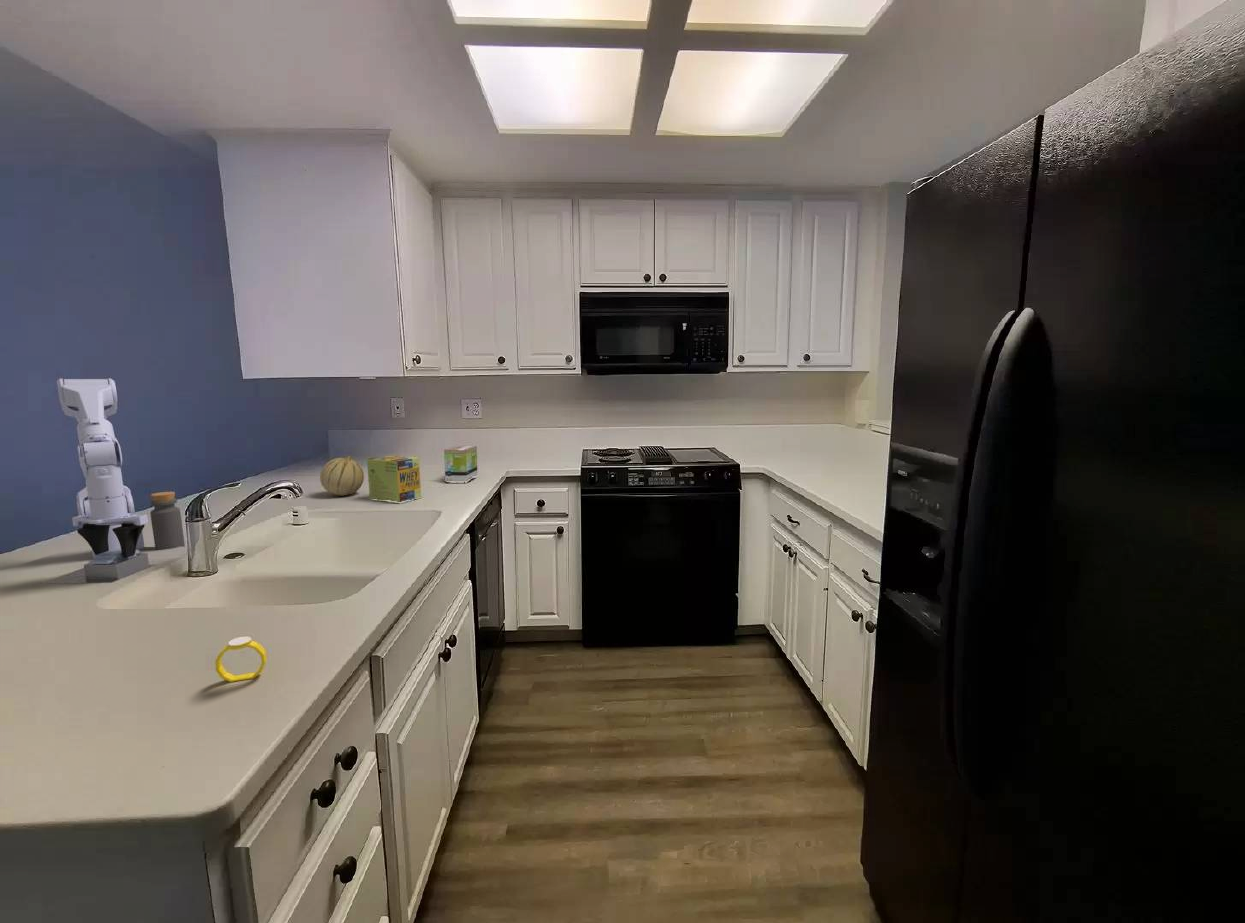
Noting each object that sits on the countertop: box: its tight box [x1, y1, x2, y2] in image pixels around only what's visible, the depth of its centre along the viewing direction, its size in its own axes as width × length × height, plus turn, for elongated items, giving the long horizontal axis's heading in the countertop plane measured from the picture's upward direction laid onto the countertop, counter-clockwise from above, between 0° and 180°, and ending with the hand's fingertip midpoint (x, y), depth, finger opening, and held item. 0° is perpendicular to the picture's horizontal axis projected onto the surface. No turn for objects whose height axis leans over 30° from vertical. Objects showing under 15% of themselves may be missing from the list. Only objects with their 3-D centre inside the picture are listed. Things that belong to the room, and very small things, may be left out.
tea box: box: [443, 445, 479, 482], centre depth 231 cm, size 15×10×15 cm
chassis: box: [39, 552, 155, 585], centre depth 118 cm, size 11×15×4 cm
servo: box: [88, 549, 140, 564], centre depth 117 cm, size 8×4×5 cm, turn 1°
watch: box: [215, 636, 268, 683], centre depth 77 cm, size 6×3×6 cm, turn 110°
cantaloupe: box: [319, 455, 365, 496], centre depth 202 cm, size 15×15×15 cm
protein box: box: [366, 455, 422, 502], centre depth 195 cm, size 10×15×16 cm
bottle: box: [150, 491, 186, 551], centre depth 137 cm, size 6×6×15 cm
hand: (116, 556), depth 117 cm, fingers open, 5 cm apart
